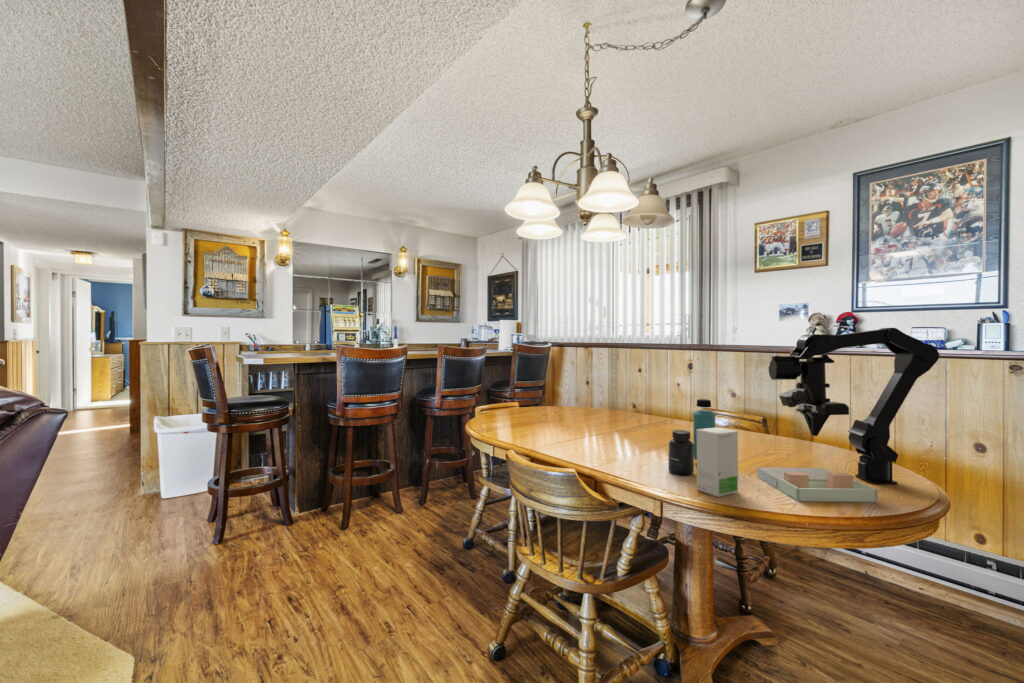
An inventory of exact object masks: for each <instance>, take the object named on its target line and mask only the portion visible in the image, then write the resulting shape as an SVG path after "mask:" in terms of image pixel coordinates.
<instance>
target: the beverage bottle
mask: <svg viewBox="0 0 1024 683" xmlns="http://www.w3.org/2000/svg"><path fill="white" fill-rule="evenodd" d="M696 407H697V408H699V407H700V408H711V407H712V402H711V400H710V399H706V398H702V399H701V398H700V399H697V400H696ZM692 416H693V419H692V420H693V431H692V432H693V433H692V434H693V435H692V443H693V444H694V461H697V432H696V430H697V429H705V428H716V414H715V412H713V411H712V410H709V409H696V410H695V411H694V412H693V413H692Z"/></svg>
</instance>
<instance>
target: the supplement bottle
mask: <svg viewBox="0 0 1024 683" xmlns="http://www.w3.org/2000/svg"><path fill="white" fill-rule="evenodd" d="M671 437H672V439H670V440H669V441H668V472H669V473H670V474H672V475H674V476H679V477H689V476H693V474H694V469H695V468H694V465H695V459H694V442H693V441H691V440H690V439H691V431H688V430H685V429H674V430H672V436H671Z"/></svg>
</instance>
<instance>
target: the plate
mask: <svg viewBox="0 0 1024 683" xmlns="http://www.w3.org/2000/svg"><path fill="white" fill-rule="evenodd" d="M784 472H804V473H805V474H807V475H809V481H815V482H827V472H832V473H835V472H834V471H831V470H829V469H826V468H824V467H772V466H771V467H763V466H762V467H760V466H759V467H756V477H757V478H759V479H761V480H762V481H764V482H765V483H767V484H769V485H771V486H772V487H773V488H775V489H777V477H780V478H782V479H783V480H784Z"/></svg>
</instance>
